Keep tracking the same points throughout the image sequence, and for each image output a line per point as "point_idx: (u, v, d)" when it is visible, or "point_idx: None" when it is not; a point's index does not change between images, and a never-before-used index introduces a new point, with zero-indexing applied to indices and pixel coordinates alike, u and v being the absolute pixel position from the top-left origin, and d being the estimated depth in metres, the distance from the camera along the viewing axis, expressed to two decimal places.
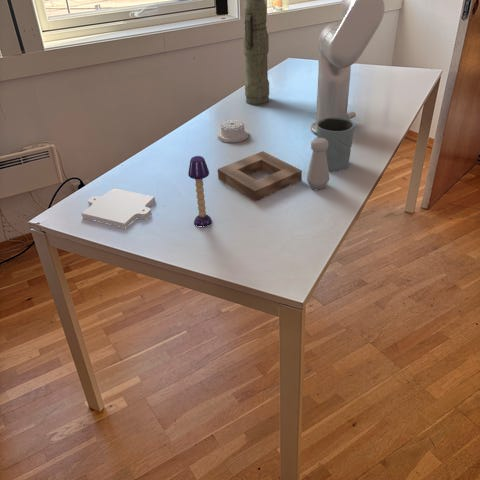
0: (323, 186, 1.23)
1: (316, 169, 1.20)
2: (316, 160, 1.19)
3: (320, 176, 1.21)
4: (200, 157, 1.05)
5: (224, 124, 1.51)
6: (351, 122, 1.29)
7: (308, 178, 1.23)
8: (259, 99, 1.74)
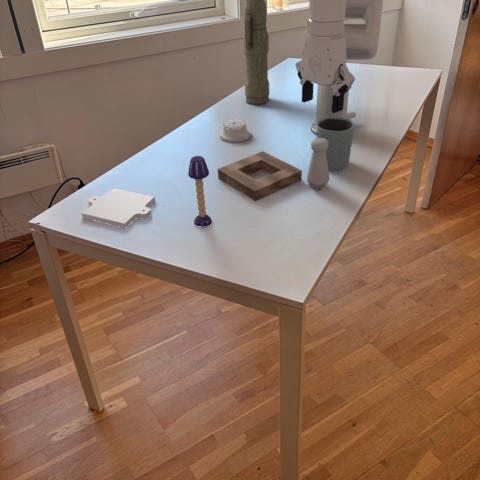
0: (323, 186, 1.23)
1: (316, 169, 1.20)
2: (316, 160, 1.19)
3: (320, 176, 1.21)
4: (200, 157, 1.05)
5: (226, 124, 1.52)
6: (351, 122, 1.29)
7: (308, 178, 1.23)
8: (259, 99, 1.74)
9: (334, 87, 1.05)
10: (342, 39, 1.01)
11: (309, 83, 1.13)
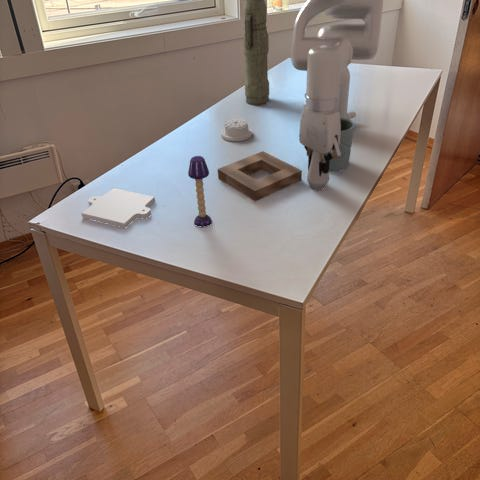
0: (323, 186, 1.23)
1: (316, 169, 1.20)
2: (316, 160, 1.19)
3: None
4: (200, 157, 1.05)
5: (228, 123, 1.52)
6: (351, 122, 1.29)
7: (308, 178, 1.23)
8: (259, 99, 1.74)
9: (323, 155, 1.17)
10: (336, 114, 1.11)
11: None
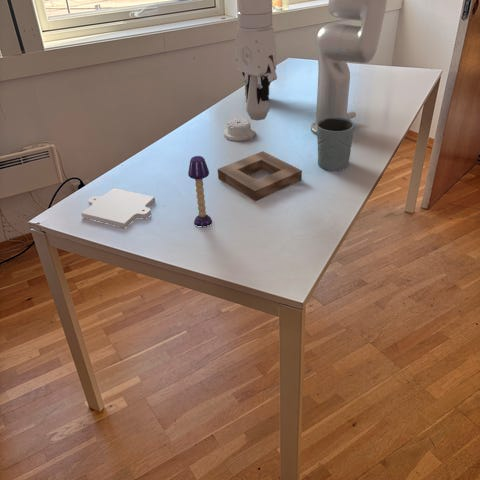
0: (263, 116, 1.17)
1: (254, 97, 1.14)
2: (254, 87, 1.13)
3: None
4: (200, 157, 1.05)
5: (230, 122, 1.52)
6: (351, 122, 1.29)
7: (247, 107, 1.17)
8: None
9: (259, 80, 1.11)
10: (270, 31, 1.05)
11: None
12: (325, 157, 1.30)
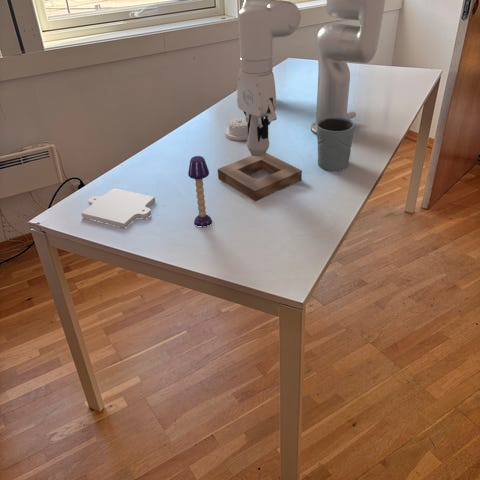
0: (263, 152, 1.23)
1: (254, 135, 1.20)
2: (254, 125, 1.19)
3: (258, 142, 1.20)
4: (200, 157, 1.05)
5: (232, 122, 1.52)
6: (351, 122, 1.29)
7: (248, 144, 1.22)
8: None
9: (259, 120, 1.17)
10: (270, 75, 1.10)
11: None
12: (325, 157, 1.30)
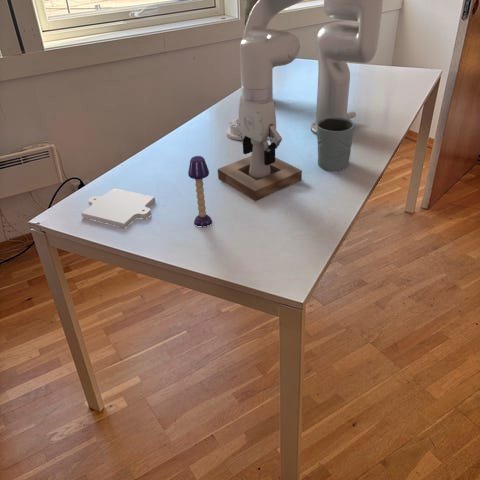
0: None
1: (256, 163, 1.25)
2: (256, 154, 1.24)
3: (260, 169, 1.25)
4: (200, 157, 1.05)
5: (233, 122, 1.52)
6: (351, 122, 1.29)
7: (250, 171, 1.27)
8: None
9: (265, 144, 1.19)
10: (270, 103, 1.14)
11: (249, 137, 1.26)
12: (325, 157, 1.30)
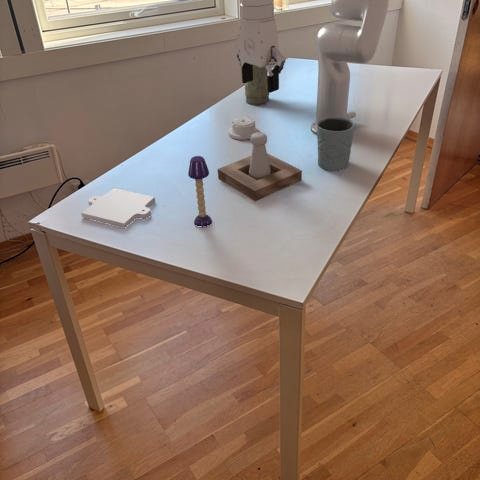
0: None
1: (256, 163, 1.25)
2: (256, 154, 1.24)
3: (260, 169, 1.25)
4: (200, 157, 1.05)
5: (235, 121, 1.53)
6: (351, 122, 1.29)
7: (249, 171, 1.27)
8: (259, 99, 1.74)
9: (268, 68, 1.12)
10: (272, 22, 1.07)
11: (248, 65, 1.19)
12: (325, 157, 1.30)
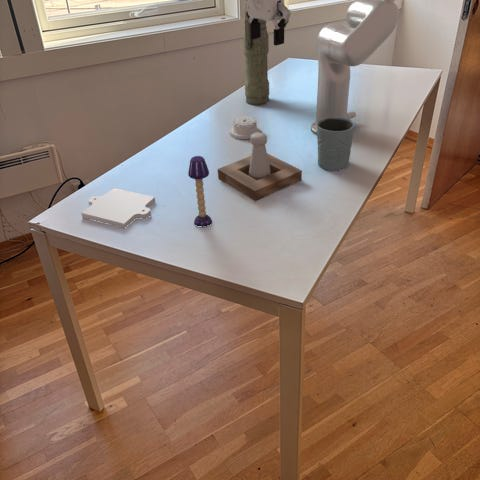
0: None
1: (256, 163, 1.25)
2: (256, 154, 1.24)
3: (260, 169, 1.25)
4: (200, 157, 1.05)
5: (237, 121, 1.53)
6: (351, 122, 1.29)
7: (249, 171, 1.27)
8: (259, 99, 1.74)
9: (274, 21, 1.22)
10: None
11: (256, 22, 1.30)
12: (325, 157, 1.30)
